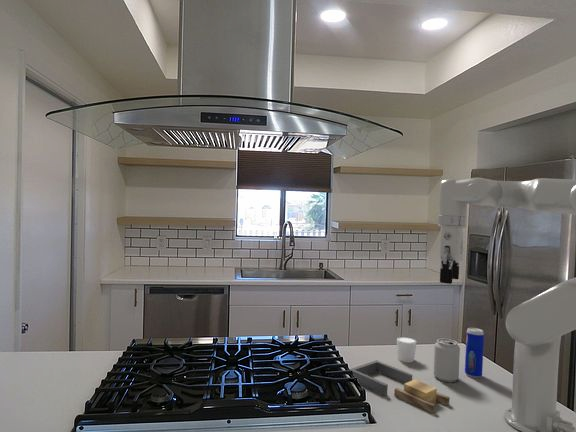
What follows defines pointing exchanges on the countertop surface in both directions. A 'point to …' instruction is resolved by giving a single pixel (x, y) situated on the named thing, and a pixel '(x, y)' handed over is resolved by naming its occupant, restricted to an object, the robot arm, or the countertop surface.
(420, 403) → the chute
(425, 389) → the ochre block
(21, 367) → the countertop surface
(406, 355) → the white tapered cylinder
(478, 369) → the beverage can
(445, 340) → the can
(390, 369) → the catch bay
